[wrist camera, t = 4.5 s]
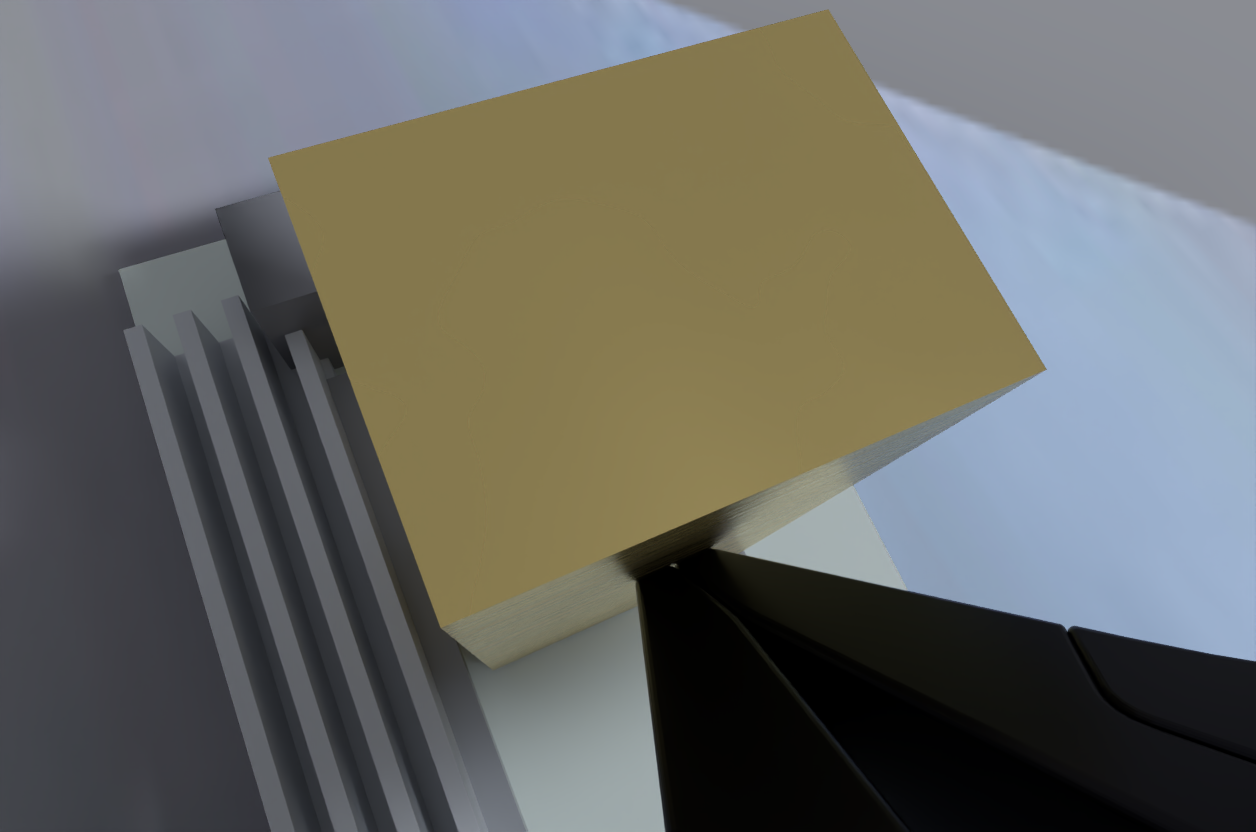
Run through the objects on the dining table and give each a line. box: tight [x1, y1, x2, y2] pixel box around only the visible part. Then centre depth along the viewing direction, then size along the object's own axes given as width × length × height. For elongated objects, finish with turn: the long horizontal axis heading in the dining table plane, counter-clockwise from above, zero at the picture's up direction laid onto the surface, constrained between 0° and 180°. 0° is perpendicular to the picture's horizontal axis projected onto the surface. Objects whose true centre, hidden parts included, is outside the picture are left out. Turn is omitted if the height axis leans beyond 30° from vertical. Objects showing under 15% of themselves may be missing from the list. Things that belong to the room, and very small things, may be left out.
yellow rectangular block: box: [268, 10, 1047, 670], centre depth 11 cm, size 6×4×11 cm, turn 24°
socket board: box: [118, 191, 908, 832], centre depth 14 cm, size 16×12×4 cm
